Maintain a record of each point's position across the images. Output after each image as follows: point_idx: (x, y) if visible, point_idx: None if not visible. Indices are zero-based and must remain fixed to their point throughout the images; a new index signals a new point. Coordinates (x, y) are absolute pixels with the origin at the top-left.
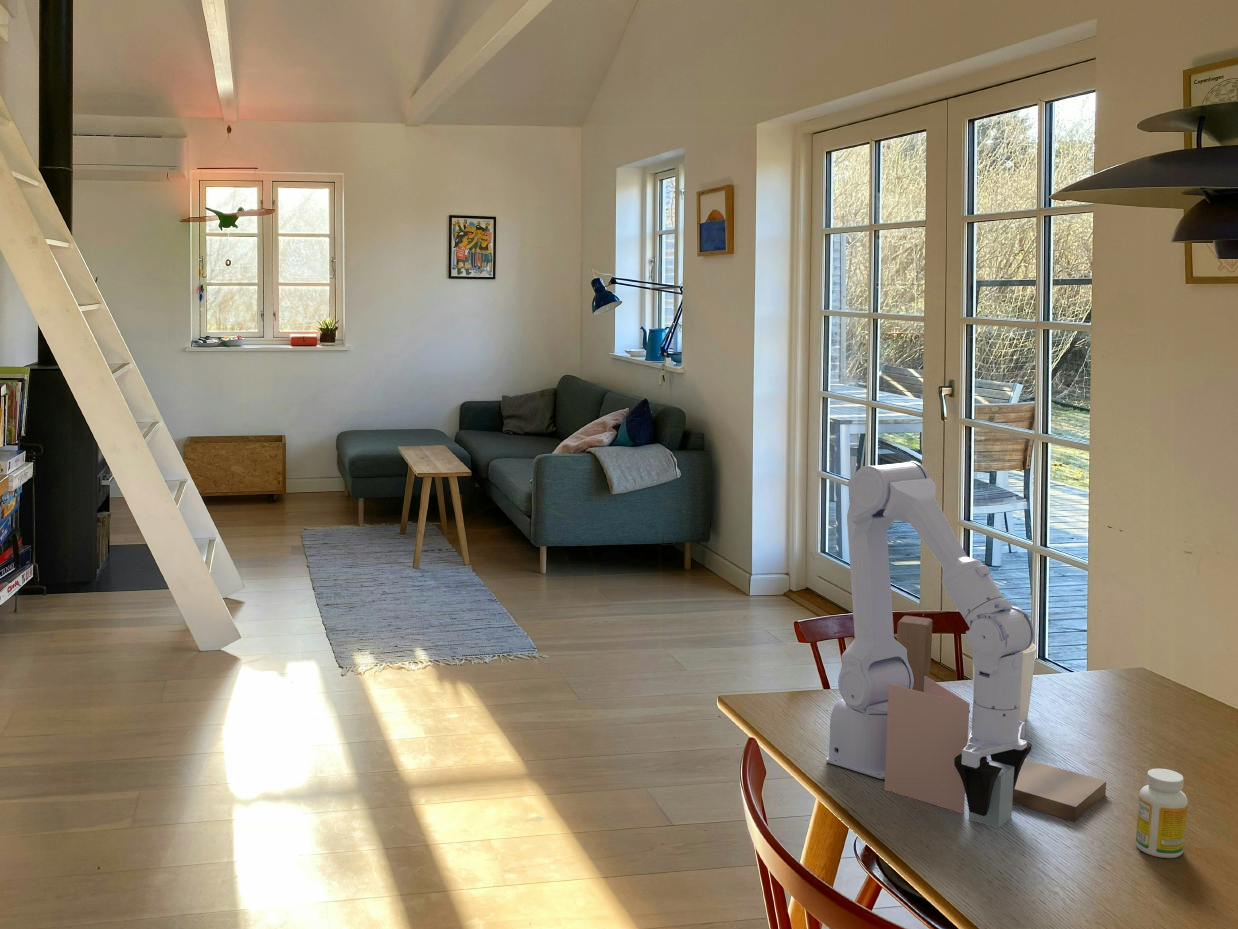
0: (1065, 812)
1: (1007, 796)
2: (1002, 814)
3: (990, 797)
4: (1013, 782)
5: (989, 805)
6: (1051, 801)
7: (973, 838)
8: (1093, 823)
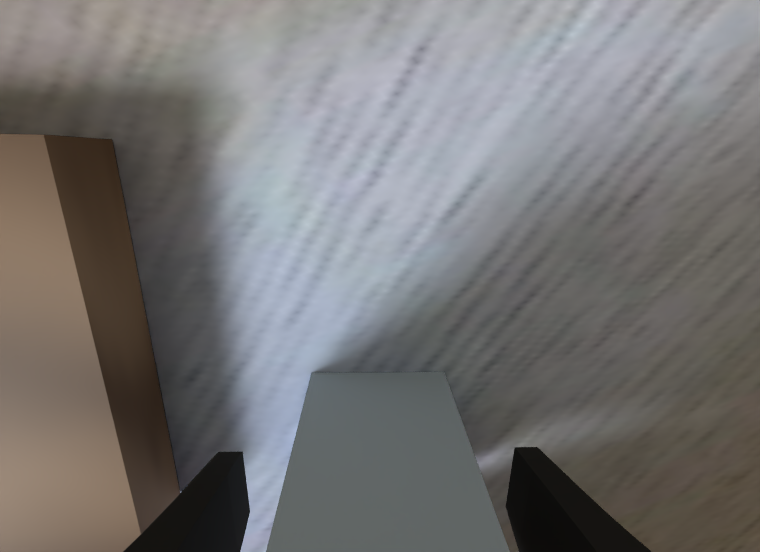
0: (98, 196)
1: (368, 464)
2: (414, 403)
3: (586, 524)
4: (199, 519)
5: (542, 480)
6: (88, 287)
7: (590, 401)
8: (39, 48)
